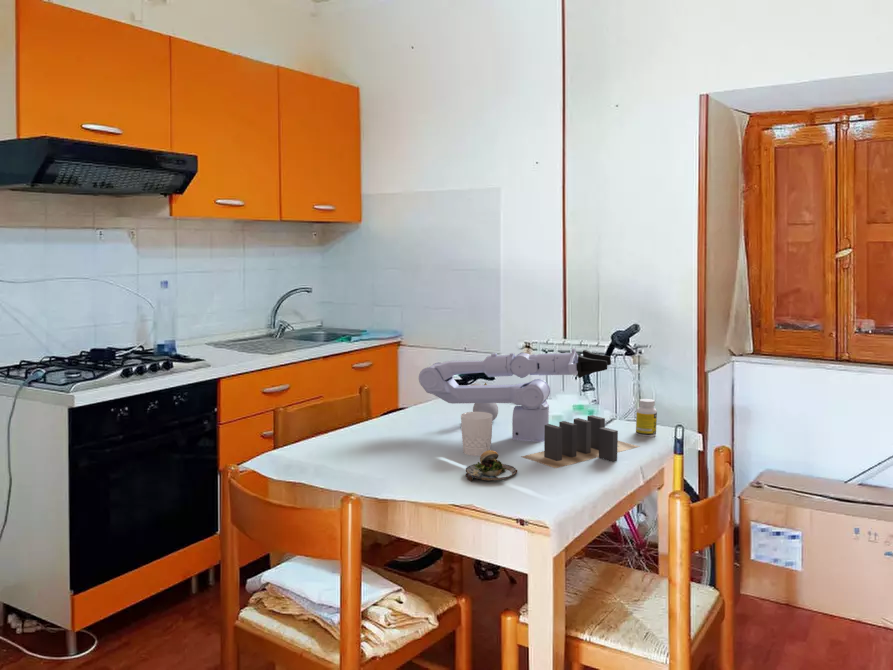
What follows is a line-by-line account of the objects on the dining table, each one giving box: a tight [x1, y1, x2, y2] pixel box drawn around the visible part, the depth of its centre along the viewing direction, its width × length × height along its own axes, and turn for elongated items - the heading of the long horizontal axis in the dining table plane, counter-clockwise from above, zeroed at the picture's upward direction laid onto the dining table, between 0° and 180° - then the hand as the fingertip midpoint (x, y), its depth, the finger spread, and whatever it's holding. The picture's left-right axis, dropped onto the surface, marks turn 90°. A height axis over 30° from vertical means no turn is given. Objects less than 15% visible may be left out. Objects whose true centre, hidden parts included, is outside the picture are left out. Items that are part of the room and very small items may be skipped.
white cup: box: [460, 411, 493, 457], centre depth 194 cm, size 8×8×10 cm
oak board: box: [520, 440, 641, 469], centre depth 194 cm, size 30×12×1 cm, turn 127°
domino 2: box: [558, 420, 577, 457], centre depth 191 cm, size 2×4×8 cm, turn 36°
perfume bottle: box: [470, 382, 499, 422], centre depth 226 cm, size 8×10×12 cm
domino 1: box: [543, 423, 562, 461], centre depth 188 cm, size 2×4×8 cm, turn 37°
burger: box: [465, 443, 518, 483], centre depth 176 cm, size 12×12×8 cm
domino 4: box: [586, 414, 606, 450], centre depth 196 cm, size 2×4×8 cm, turn 37°
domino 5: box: [598, 426, 619, 463], centre depth 187 cm, size 2×4×8 cm, turn 37°
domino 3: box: [573, 417, 591, 454], centre depth 194 cm, size 2×4×8 cm, turn 37°
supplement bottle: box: [635, 398, 658, 438], centre depth 211 cm, size 5×5×10 cm
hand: (608, 362), depth 199 cm, fingers open, 7 cm apart
